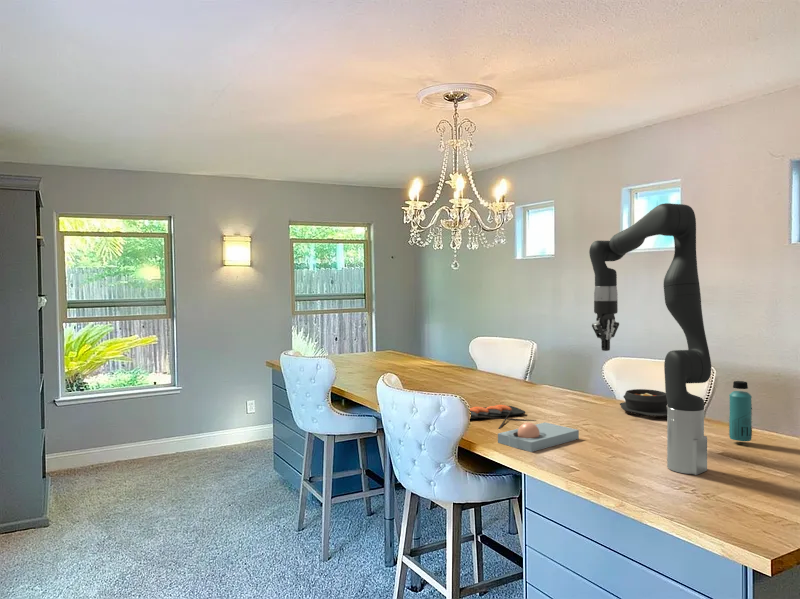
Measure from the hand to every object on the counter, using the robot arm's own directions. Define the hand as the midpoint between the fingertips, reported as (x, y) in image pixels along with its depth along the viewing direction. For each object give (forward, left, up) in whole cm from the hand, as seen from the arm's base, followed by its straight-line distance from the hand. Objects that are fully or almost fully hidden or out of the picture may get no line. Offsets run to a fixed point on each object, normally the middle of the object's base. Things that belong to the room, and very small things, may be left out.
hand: (605, 350), depth 200 cm
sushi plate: (+40, +11, -30) cm, 51 cm away
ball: (+9, +29, -26) cm, 40 cm away
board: (+10, +23, -29) cm, 38 cm away
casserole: (+9, -41, -29) cm, 51 cm away
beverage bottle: (-33, -24, -29) cm, 50 cm away
